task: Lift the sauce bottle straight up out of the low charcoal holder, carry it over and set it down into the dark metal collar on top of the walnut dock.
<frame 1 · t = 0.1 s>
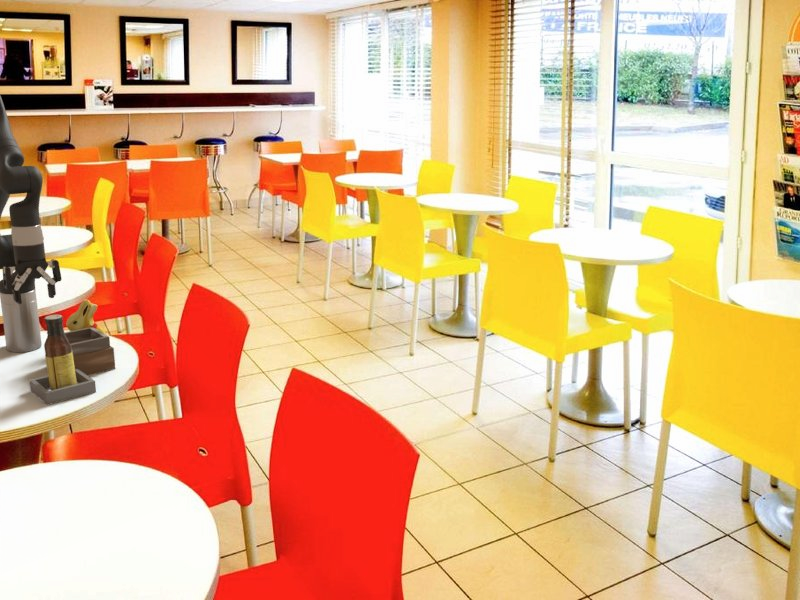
hand: (35, 300, 209), 17 cm above the table, tool pointing down, fingers open, 8 cm apart
chocolate bunny: (88, 350, 222), on the table
low holder: (63, 391, 194), on the table
sauce bottle: (63, 392, 194), resting in low holder
walnut dock: (81, 367, 209), on the table
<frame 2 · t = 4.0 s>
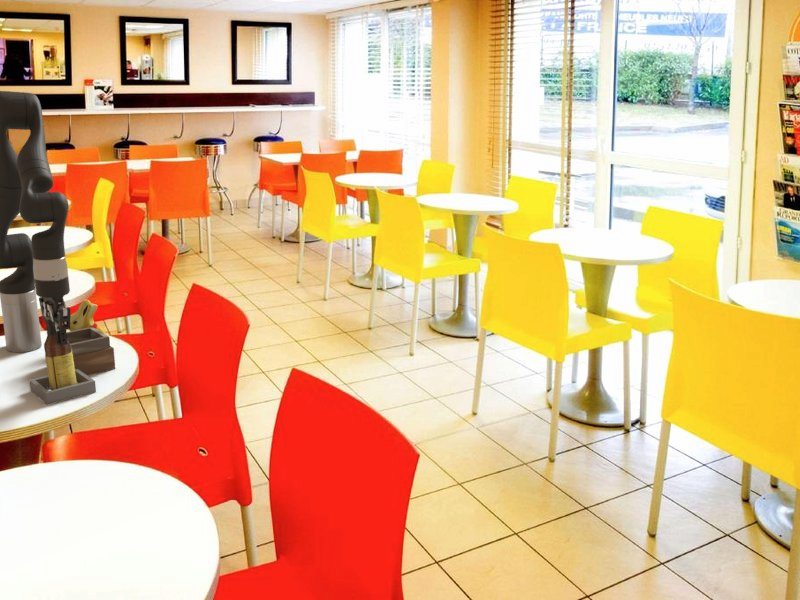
hand: (58, 341, 190), 13 cm above the table, tool pointing down, fingers closed on sauce bottle, 5 cm apart
sauce bottle: (63, 392, 194), resting in low holder, touching gripper
everything else where it was.
when the fingers open (21 cm above the table, at t = 10.3 s): sauce bottle drops 1 cm, resting on walnut dock.
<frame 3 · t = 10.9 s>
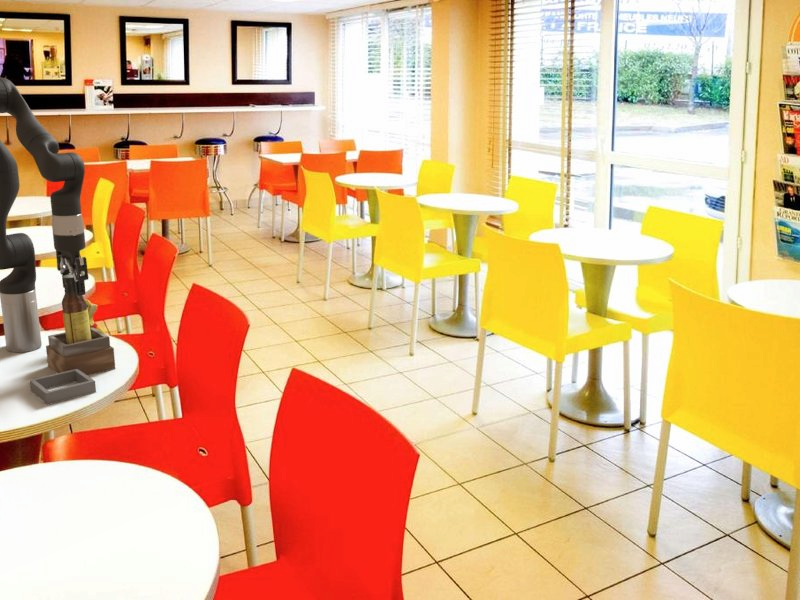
hand: (74, 291, 203), 22 cm above the table, tool pointing down, fingers open, 8 cm apart
sauce bottle: (79, 347, 208), point 6 cm above the table, touching walnut dock
everything else where it was.
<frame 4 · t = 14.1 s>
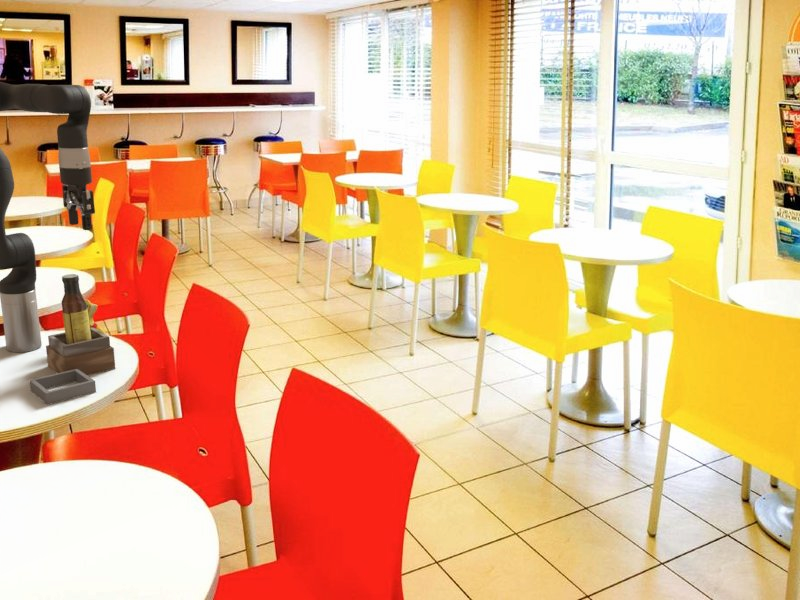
hand: (80, 227, 203), 38 cm above the table, tool pointing down, fingers open, 8 cm apart
nothing on the table moved.
at the end: sauce bottle 0.3 cm off-centre on the walnut dock, point 5.8 cm above the walnut dock's base; sauce bottle tilted 0°; the gripper is holding nothing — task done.
